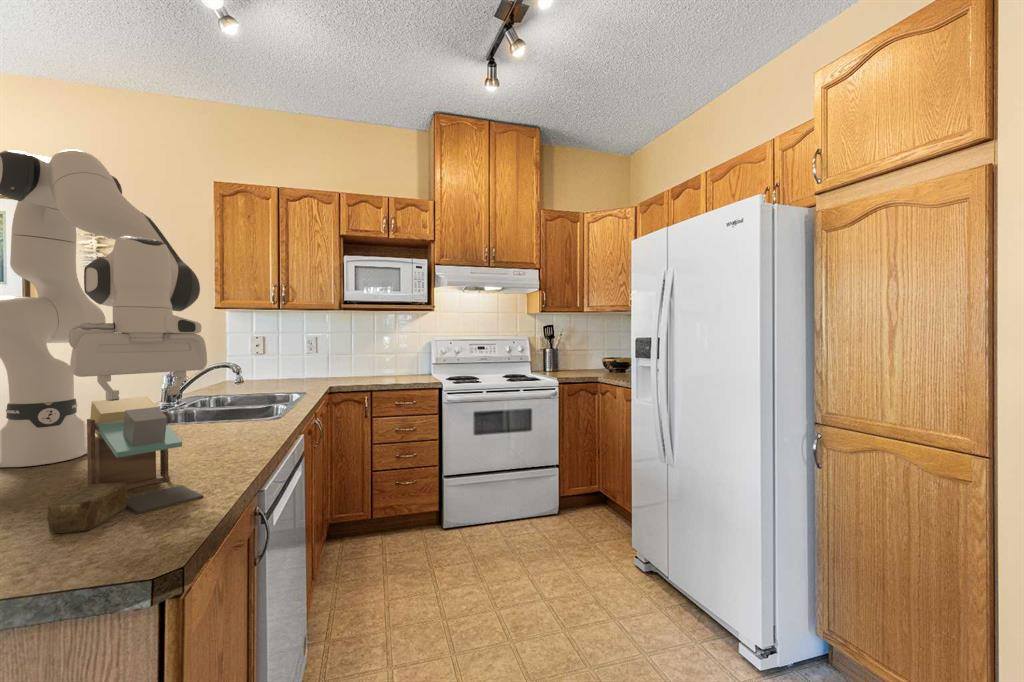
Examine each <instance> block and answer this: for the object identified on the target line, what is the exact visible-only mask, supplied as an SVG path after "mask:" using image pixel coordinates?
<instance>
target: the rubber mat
mask: <svg viewBox="0 0 1024 682" xmlns="http://www.w3.org/2000/svg"><path fill="white" fill-rule="evenodd" d="M203 498H204V494H202V493H199V492H198V491H195V490H193V489H190V488H189V487H186V486H184V485H182V484H181V485H177V486H172V487H169V488H164V489H159V490H155V491H150V492H147V493H142V494H138V495H133V496H127V507H126V508H127V509H129V510H131V511H132V512H134V513H135V514H137V515H140V514H144V513H148V512H151V511H156V510H159V509H163V508H167V507H170V506H171V507H172V506H175V505H178V504H183V503H187V502H191V501H195V500H198V499H203Z"/></svg>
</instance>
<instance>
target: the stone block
mask: <svg viewBox="0 0 1024 682" xmlns="http://www.w3.org/2000/svg"><path fill="white" fill-rule="evenodd" d="M127 493H128V489H127V485H126V484H125V483H106V484H103V483H100V484H90V485H89V486H87V487H84V488H82V489H79V490H78V489H77V490H75V491H74V492H72V493H70V494H67V495H66V496H64V497H61V498H60V499H58V500H56V501H54V502H52V503H50V504H49V505H48V507H47V520H46V521H47V525H48V529H49V532H50V533H55V534H63V533H64V534H66V533H73V534H75V533H79V532H87V531H90V530H92V529H93V528H96V527H97V526H98V525H100V524H102V523H104V522H105V521H107V520H109V519H111V518H112V517H113V516H115V515H117V514H119V513H121V512H122V511H123V510H125V509H126V508H127V498H128V496H127Z"/></svg>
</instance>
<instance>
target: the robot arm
mask: <svg viewBox="0 0 1024 682" xmlns="http://www.w3.org/2000/svg"><path fill="white" fill-rule="evenodd" d="M0 196H3V197H6V198H8V199H11V200H13V201H17V204H16V206H15V210H14V214H13V218H12V224H11V232H10V233H11V239H10V240H11V241H10V260H9V261H10V262H9V265H10V268H11V269H12V271H13V272H14V273H15V274H16V275H17V276H19V278H20V277H21V278H22V279H23V280H25V281H28V282H30V283H31V284H32V285H33V287H34V288H35V290H36V292H37V297H35V296H34V297H33V296H18V295H17V296H16V295H0V360H1V361H2V363H3V366H4V368H5V371H6V374H7V383H8V396H9V397H8V399H9V402H8V403H7V404H6V408H5V413H6V416H5V417H6V419H7V422H6V424H5V425H3V426H2V427H1V429H0V468H21V467H22V468H23V467H32V466H41V465H46V464H47V465H49V464H55V463H59V462H64V461H68V460H73V459H77V458H79V457H82V456H85V455H87V431H86V423H85V420H84V419H82V418H80V417H78V416H77V414H76V413H78V410H77V409H78V408H77V407H78V403H77V398H75V390H74V389H75V385H74V381H75V380H74V378H75V377H74V376H76V377H78V378H79V377H80V378H85V377H87V378H88V377H96V378H97V379H96V380H97V383H98V384H99V386H100V387H101V388H102V389H103V390H104V391H105V400H106V401H115V400H119V399H120V396H119V395H120V390H117V389H113V388H112V387H111V386H110V384H109V382H112V376H120V375H136V374H139V375H140V374H154V373H171V372H173V376H174V377H175V378H176V379H175V380H174V382H173V384H172V385H167V395H168V396H179V395H180V394H181V388H180V387H181V386H182V384H183V382H184V381H185V379H186V378H187V372H190V371H191V372H192V371H203V370H204V369H205V368H206V367H207V365H208V354H207V352H208V351H207V347H206V341H205V339H204V338H203V336H202V335H200V333H201V331H202V324H201V323H200V322H198V321H194V320H191V319H188V318H184V317H181V316H178V315H174V314H173V312H182V311H185V310H186V309H188V308H189V307H191V306H192V305H194V303H195V302H196V301H197V300H198V298H199V296H200V293H201V285H200V284H201V283H200V281H199V278H198V276H197V275H196V273H195V272H194V270H193V269H192V268H191V267H190V266H189V265H188V264H187V263H186V262H184V261H183V260H182V259H181V258H180V256H179V255H178V253H177V252H176V251H175V250H174V248H173V246H172V245H171V244H170V242H169V241H168V239H167V238H166V237H165V235H164V234H163V233H162V231H161V230H160V229H159V228H158V226H157V224H156V223H155V222H154V221H153V220H152V218H150V217H149V216H147V215H146V214H145V213H143V212H142V211H140V210H139V209H138V208H136V207H135V206H134V205H133V204H132V203H131V202H130V201H129V200H127V198H125V196H124V195H123V189H122V185H121V183H120V181H119V180H118V179H117V178H116V177H115V176H114V175H112V174H111V173H110V171H108V169H107V168H106V166H105V165H104V164H103V163H102V162H101V161H100V159H98V158H97V157H95V156H94V155H92V154H91V153H89V152H87V151H83V150H80V149H65V150H61V151H58V152H56V153H55V154H53V155H52V156H51V157H49V156H42V155H36V154H31V153H28V152H26V151H21V150H11V149H10V150H8V149H7V150H2V151H0ZM77 228H78V229H80V230H81V231H84V232H86V233H89V234H93V235H96V236H100V237H103V238H107V239H111V240H115V241H114V245H113V249H112V251H111V252H110V253H108V254H107V255H106V256H103V257H98V258H96V259H94V260H93V261H91V262H89V263H88V264H87V265H86V266H85V267H84V270H83V271H84V272H83V287H84V288H82V286H81V284H80V281H79V278H78V274H77ZM83 289H84V290H83ZM93 301H94V302H95V303H96V304H95V303H94V302H93ZM97 304H98V305H97ZM99 305H101V306H106V307H112V322H110V323H109V322H106V321H107V320H106V316H105V313H104V312H103V310H102V309H101V308H100V306H99ZM67 343H68V344H69V346H71V348H72V350H71V355H70V364H69V363H67V362H65V361H63V360H61V359H59V358H56V357H54V356H53V354H51V353H50V351H49V349H48V345H47V344H67Z"/></svg>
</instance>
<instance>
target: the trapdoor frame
mask: <svg viewBox="0 0 1024 682" xmlns="http://www.w3.org/2000/svg"><path fill="white" fill-rule="evenodd" d="M161 411H162V412H163V413H164V414H165V415H166V417H167V425H168V426H169V423H168V421H169V413H168V411H167V410H161ZM86 445H87V454H86V455H87V456H86V457H87V460H86V461H87V484H83V485H78V486H77V490H79V489H82V488H84V487H87V486H89V485H90V484H100V483H103V484H106V483H125V484H126V485H127V490H131V489H135V488H138V487H142V486H143V487H144V486H149V485H153V484H157V483H162V482H169V481H170V480H171V476H170V475H169V449H164V450H159V451H160V453H159V454H160V471H159V470H158V469H157V451H153V452H147V453H141V454H135V455H129V456H123V457H118V458H116V456H115V455H114V453H113V452H112V451H111V449H110V448H109V446H108V445H107V443H106V442H105V440H104V439H103V438H102V437H101V438H99V437H98V436H97V435H96V433H95V420H93V419H90V418H86Z"/></svg>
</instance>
